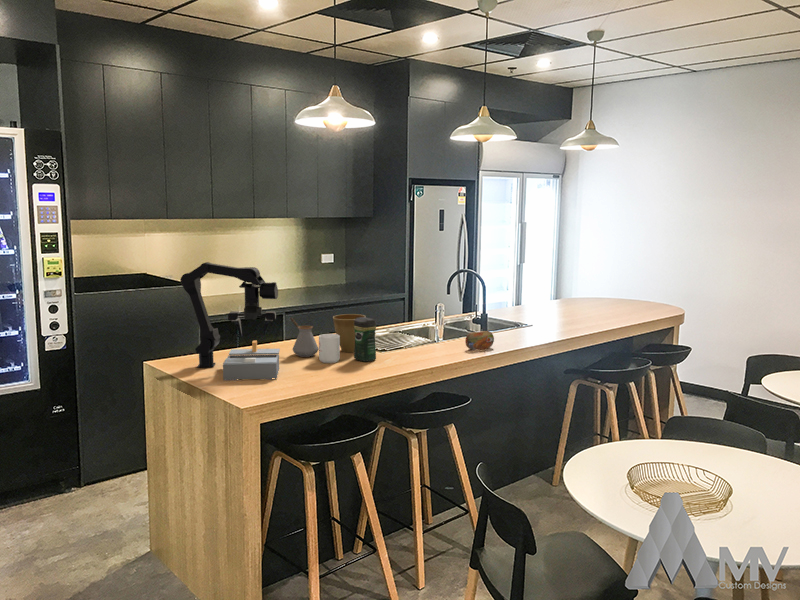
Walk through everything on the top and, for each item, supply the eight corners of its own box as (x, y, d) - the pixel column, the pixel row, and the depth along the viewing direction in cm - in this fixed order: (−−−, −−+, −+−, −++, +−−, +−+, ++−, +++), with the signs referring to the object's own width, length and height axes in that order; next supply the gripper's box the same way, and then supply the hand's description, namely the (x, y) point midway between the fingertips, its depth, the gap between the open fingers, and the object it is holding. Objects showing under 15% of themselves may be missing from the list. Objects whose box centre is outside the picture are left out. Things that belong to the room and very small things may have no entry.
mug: (343, 362, 277) (343, 336, 275) (323, 364, 273) (323, 338, 271) (332, 356, 287) (331, 331, 286) (313, 358, 283) (313, 333, 281)
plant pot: (355, 345, 309) (355, 312, 307) (371, 352, 297) (371, 317, 294) (327, 349, 301) (327, 315, 299) (342, 355, 289) (342, 320, 286)
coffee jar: (379, 360, 281) (379, 318, 278) (365, 363, 276) (365, 320, 273) (364, 356, 288) (365, 315, 285) (350, 359, 283) (350, 317, 280)
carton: (228, 369, 262) (228, 355, 261) (279, 368, 265) (278, 354, 264) (223, 380, 247) (222, 365, 246) (276, 379, 249) (276, 364, 248)
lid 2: (226, 359, 253) (225, 355, 253) (277, 358, 256) (277, 354, 256) (223, 364, 246) (223, 360, 246) (276, 363, 248) (276, 359, 248)
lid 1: (231, 350, 269) (231, 339, 268) (279, 349, 272) (279, 339, 271) (228, 355, 261) (228, 343, 261) (278, 354, 264) (278, 343, 263)
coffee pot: (323, 356, 288) (322, 322, 286) (299, 359, 281) (299, 325, 279) (301, 347, 305) (301, 315, 303) (279, 350, 299) (278, 318, 296)
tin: (467, 351, 301) (468, 333, 300) (464, 349, 304) (464, 332, 302) (494, 348, 308) (494, 330, 307) (490, 346, 311) (490, 329, 310)
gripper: (225, 301, 254) (226, 340, 256) (274, 301, 256) (274, 340, 258) (229, 297, 265) (230, 335, 267) (275, 297, 267) (276, 334, 269)
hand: (252, 336), depth 265 cm, fingers open, 9 cm apart
